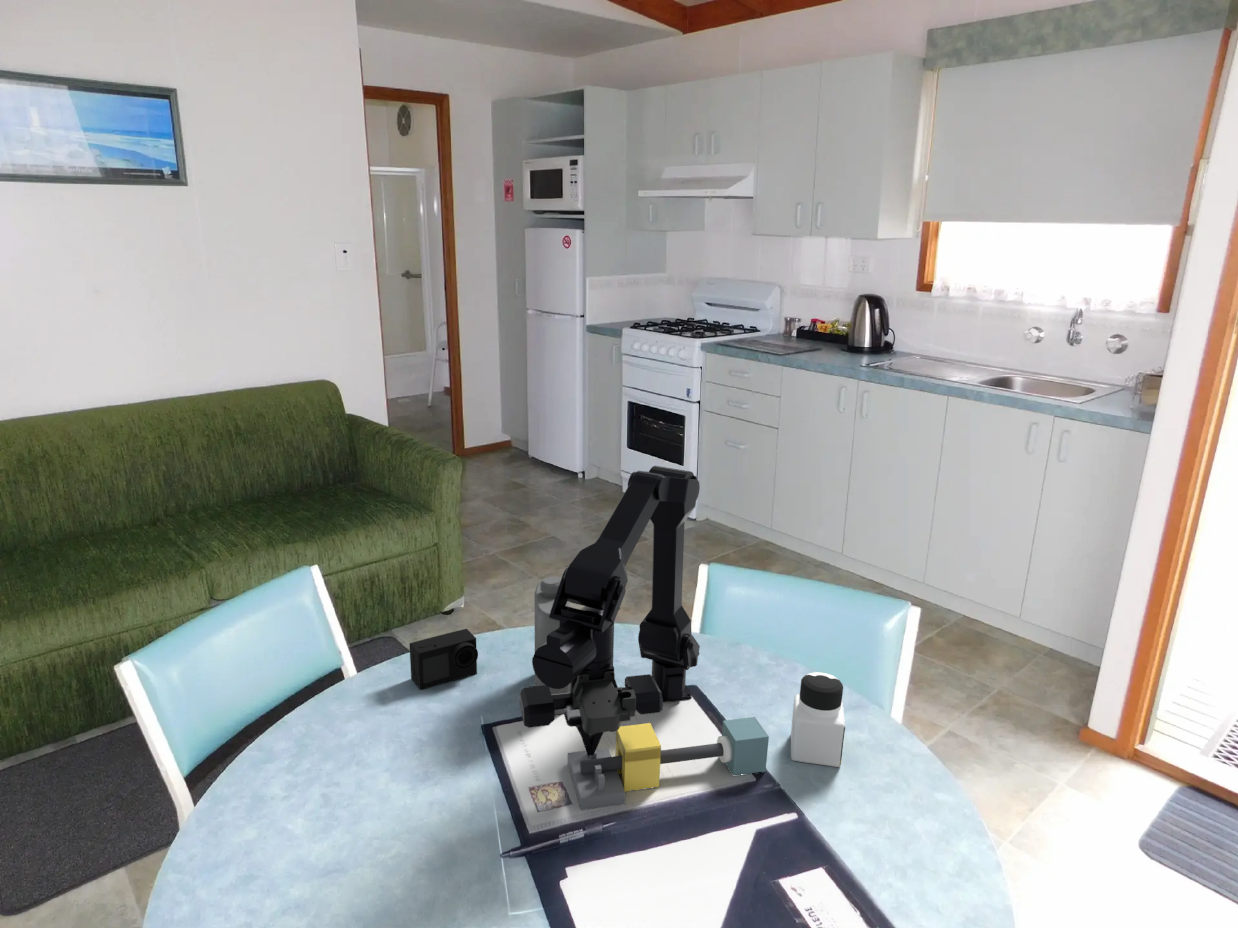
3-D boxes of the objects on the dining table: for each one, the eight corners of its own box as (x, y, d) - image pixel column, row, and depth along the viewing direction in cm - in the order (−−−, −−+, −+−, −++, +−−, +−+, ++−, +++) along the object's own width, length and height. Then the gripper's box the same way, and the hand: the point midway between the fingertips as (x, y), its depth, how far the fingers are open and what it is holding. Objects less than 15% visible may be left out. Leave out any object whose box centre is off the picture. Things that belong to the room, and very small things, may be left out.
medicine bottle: (840, 768, 120) (849, 695, 116) (790, 761, 121) (797, 689, 118) (838, 739, 126) (846, 670, 123) (790, 733, 128) (797, 664, 124)
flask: (534, 667, 144) (534, 562, 139) (568, 667, 145) (569, 561, 139) (534, 716, 130) (534, 601, 125) (571, 715, 131) (572, 600, 125)
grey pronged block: (567, 764, 119) (567, 740, 118) (608, 759, 120) (608, 735, 119) (580, 810, 109) (581, 785, 108) (624, 804, 111) (625, 779, 110)
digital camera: (422, 694, 135) (420, 656, 134) (410, 679, 140) (408, 642, 138) (480, 677, 141) (479, 640, 139) (467, 663, 145) (466, 627, 143)
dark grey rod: (584, 797, 112) (585, 759, 110) (577, 774, 117) (578, 737, 115) (765, 772, 118) (768, 736, 116) (752, 751, 123) (754, 716, 121)
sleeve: (615, 767, 118) (616, 726, 116) (648, 763, 119) (650, 722, 117) (624, 791, 113) (625, 749, 111) (659, 787, 114) (661, 745, 112)
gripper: (529, 692, 99) (530, 801, 103) (677, 676, 103) (672, 782, 108) (518, 647, 109) (519, 748, 114) (653, 634, 114) (649, 732, 118)
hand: (589, 753), depth 113 cm, fingers closed
